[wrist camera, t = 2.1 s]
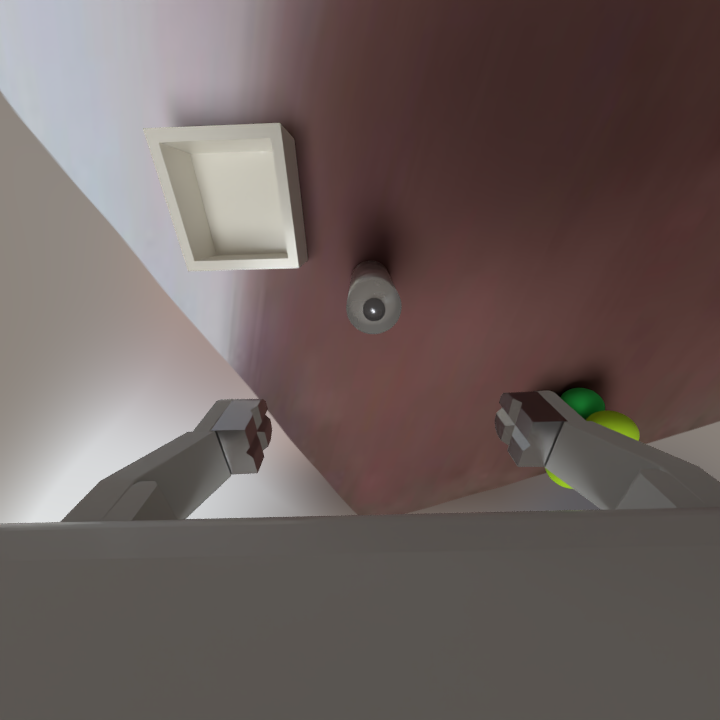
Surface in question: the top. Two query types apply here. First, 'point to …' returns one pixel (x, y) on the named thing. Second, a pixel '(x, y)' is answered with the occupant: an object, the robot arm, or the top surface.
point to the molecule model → (596, 417)
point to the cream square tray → (232, 195)
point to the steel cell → (372, 299)
